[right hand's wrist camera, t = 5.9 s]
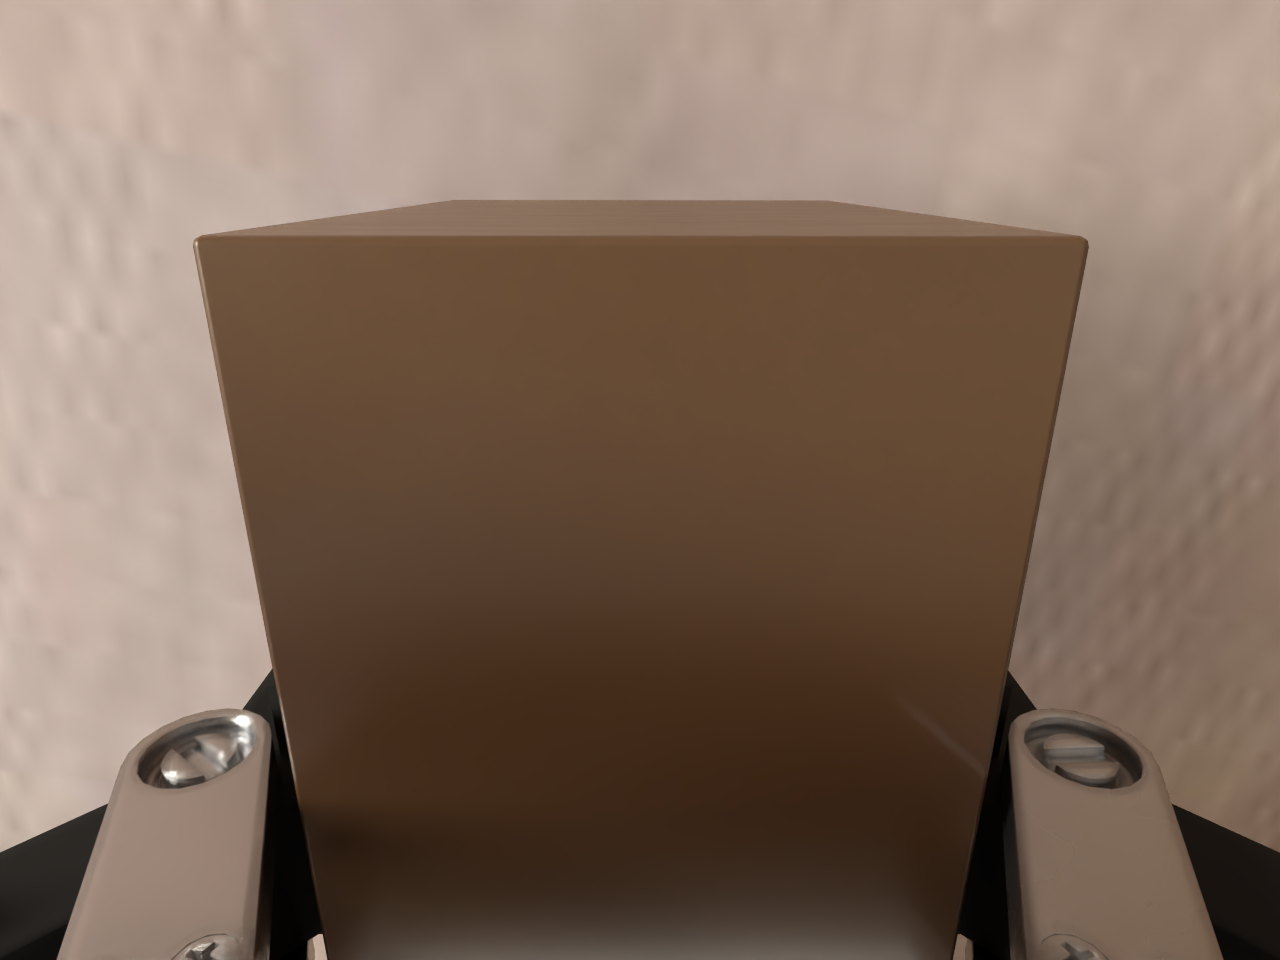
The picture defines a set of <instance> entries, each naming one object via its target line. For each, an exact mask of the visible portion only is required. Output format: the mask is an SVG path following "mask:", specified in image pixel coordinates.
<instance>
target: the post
mask: <svg viewBox="0 0 1280 960" xmlns="http://www.w3.org/2000/svg"><path fill="white" fill-rule="evenodd" d="M193 248H194V254H195V259H196V264H197V270H198V275H199V280H200V285H201V291H202V296H203V301H204V307H205V312H206V317H207V323H208V328H209V333H210V339H211V344H212V349H213V354H214V360H215V365H216V370H217V376H218V381H219V386H220V392H221V397H222V402H223V408H224V413H225V418H226V423H227V429H228V434H229V439H230V445H231V450H232V455H233V461H234V466H235V471H236V477H237V482H238V487H239V492H240V498H241V503H242V508H243V514H244V519H245V524H246V530H247V535H248V540H249V546H250V551H251V556H252V561H253V567H254V572H255V577H256V583H257V588H258V593H259V599H260V604H261V609H262V615H263V620H264V625H265V630H266V636H267V641H268V646H269V652H270V657H271V662H272V668H273V673H274V678H275V684H276V689H277V694H278V699H279V705H280V710H281V715H282V721H283V726H284V731H285V737H286V742H287V747H288V753H289V758H290V763H291V769H292V774H293V779H294V784H295V790H296V795H297V800H298V806H299V811H300V816H301V822H302V827H303V832H304V838H305V843H306V848H307V853H308V859H309V864H310V869H311V875H312V880H313V885H314V891H315V896H316V901H317V907H318V912H319V917H320V922H321V928H322V933H323V938H324V944H325V949H326V954H327V960H953V955H954V950H955V945H956V939H957V934H958V929H959V924H960V919H961V913H962V908H963V903H964V898H965V892H966V887H967V882H968V877H969V871H970V866H971V861H972V856H973V850H974V845H975V840H976V835H977V829H978V824H979V819H980V814H981V809H982V803H983V798H984V793H985V788H986V782H987V777H988V772H989V767H990V761H991V756H992V751H993V746H994V740H995V735H996V730H997V725H998V719H999V714H1000V709H1001V704H1002V699H1003V693H1004V688H1005V683H1006V678H1007V672H1008V667H1009V662H1010V657H1011V651H1012V646H1013V641H1014V636H1015V630H1016V625H1017V620H1018V615H1019V610H1020V604H1021V599H1022V594H1023V589H1024V583H1025V578H1026V573H1027V568H1028V562H1029V557H1030V552H1031V547H1032V541H1033V536H1034V531H1035V526H1036V520H1037V515H1038V510H1039V505H1040V500H1041V494H1042V489H1043V484H1044V479H1045V473H1046V468H1047V463H1048V458H1049V452H1050V447H1051V442H1052V437H1053V431H1054V426H1055V421H1056V416H1057V410H1058V405H1059V400H1060V395H1061V390H1062V384H1063V379H1064V374H1065V369H1066V363H1067V358H1068V353H1069V348H1070V342H1071V337H1072V332H1073V327H1074V321H1075V316H1076V311H1077V306H1078V300H1079V295H1080V290H1081V285H1082V280H1083V274H1084V269H1085V264H1086V259H1087V253H1088V248H1089V246H1088V241H1087V239H1085V238H1083V237H1080V236H1075V235H1068V234H1061V233H1054V232H1047V231H1040V230H1032V229H1025V228H1018V227H1011V226H1004V225H997V224H990V223H983V222H975V221H968V220H961V219H954V218H947V217H940V216H933V215H926V214H918V213H911V212H904V211H897V210H890V209H883V208H876V207H869V206H861V205H854V204H847V203H840V202H833V201H645V200H452V201H445V202H438V203H430V204H423V205H416V206H409V207H402V208H395V209H387V210H380V211H373V212H366V213H359V214H352V215H344V216H337V217H330V218H323V219H316V220H309V221H301V222H294V223H287V224H280V225H273V226H266V227H258V228H251V229H244V230H237V231H230V232H223V233H216V234H208V235H202V236H200V237H198V238H195V240H194V244H193Z"/></svg>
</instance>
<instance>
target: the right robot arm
mask: <svg viewBox="0 0 1280 960" xmlns="http://www.w3.org/2000/svg"><path fill="white" fill-rule="evenodd" d="M318 934H323V933H322V928H321V922H320V917H319V912H318V907H317V901H316V896H315V891H314V885H313V880H312V875H311V869H310V864H309V859H308V853H307V848H306V843H305V838H304V832H303V827H302V822H301V816H300V811H299V806H298V800H297V795H296V790H295V784H294V779H293V774H292V769H291V763H290V758H289V753H288V747H287V742H286V737H285V731H284V726H283V721H282V715H281V710H280V705H279V699H278V694H277V689H276V684H275V678H274V673H273V669H272V670H271V671H270V673H269V674H268V675H267V677H266V678H265V679H264V681H263V682H262V684H261V685H260V686H259V688H258V689H257V690H256V692H255V693H254V694H253V696H252V697H251V699H250V700H249V701H248V703H247V704H246V705H245V707H244V708H243V710H239V709H220V710H211V711H205V712H201V713H197V714H194V715H190V716H186V717H183V718H181V719H179V720H176V721H174V722H172V723H170V724H167V725H165V726H163V727H161V728H160V729H158V730H156V731H155V732H153V733H152V734H150V735H149V736H147V737H145V738H144V739H143V740H142V741H141V742H139V743H138V744H137V745H136V746H135V747H134V748H133V749H132V750H131V751H130V752H129V753H128V755H127V757H126V758H125V760H124V762H123V764H122V765H121V767H120V770H119V773H118V776H117V779H116V782H115V785H114V788H113V791H112V794H111V797H110V800H109V803H108V804H106V805H104V806H102V807H99V808H97V809H95V810H93V811H91V812H88V813H86V814H84V815H82V816H80V817H77V818H75V819H73V820H71V821H69V822H66V823H64V824H62V825H60V826H58V827H55V828H53V829H51V830H49V831H47V832H44V833H42V834H40V835H38V836H36V837H33V838H31V839H29V840H27V841H25V842H22V843H20V844H18V845H16V846H14V847H11V848H9V849H7V850H5V851H3V852H1V853H0V960H315V949H314V944H313V939H312V938H313V937H315V936H316V935H318ZM958 934H962V935H963V936H965V937H966V938H968V939H967V944H966V949H965V960H1280V853H1279V852H1277V851H1275V850H1272V849H1270V848H1268V847H1266V846H1264V845H1261V844H1259V843H1257V842H1255V841H1253V840H1250V839H1248V838H1246V837H1244V836H1242V835H1239V834H1237V833H1235V832H1233V831H1231V830H1228V829H1226V828H1224V827H1222V826H1220V825H1217V824H1215V823H1213V822H1211V821H1209V820H1206V819H1204V818H1202V817H1200V816H1198V815H1195V814H1193V813H1191V812H1189V811H1187V810H1184V809H1182V808H1180V807H1178V806H1176V805H1173V804H1172V803H1171V800H1170V797H1169V794H1168V791H1167V788H1166V785H1165V782H1164V779H1163V776H1162V773H1161V770H1160V767H1159V765H1158V764H1157V762H1156V760H1155V758H1154V757H1153V755H1152V753H1151V752H1150V751H1149V750H1148V749H1147V748H1146V747H1145V746H1144V745H1143V744H1142V743H1141V742H1139V741H1138V740H1137V739H1136V738H1135V737H1133V736H1131V735H1130V734H1128V733H1127V732H1125V731H1124V730H1122V729H1120V728H1119V727H1117V726H1115V725H1113V724H1110V723H1108V722H1106V721H1104V720H1101V719H1099V718H1097V717H1093V716H1090V715H1086V714H1083V713H1079V712H1075V711H1069V710H1060V709H1041V710H1037V709H1036V708H1035V706H1034V705H1033V704H1032V702H1031V701H1030V700H1029V698H1028V697H1027V696H1026V694H1025V693H1024V691H1023V690H1022V689H1021V687H1020V686H1019V685H1018V683H1017V682H1016V681H1015V679H1014V678H1013V676H1012V675H1011V674H1010V672H1009V671H1008V672H1007V678H1006V683H1005V688H1004V693H1003V699H1002V704H1001V709H1000V714H999V719H998V725H997V730H996V735H995V740H994V746H993V751H992V756H991V761H990V767H989V772H988V777H987V782H986V788H985V793H984V798H983V803H982V809H981V814H980V819H979V824H978V829H977V835H976V840H975V845H974V850H973V856H972V861H971V866H970V871H969V877H968V882H967V887H966V892H965V898H964V903H963V908H962V913H961V919H960V924H959V929H958Z"/></svg>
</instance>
